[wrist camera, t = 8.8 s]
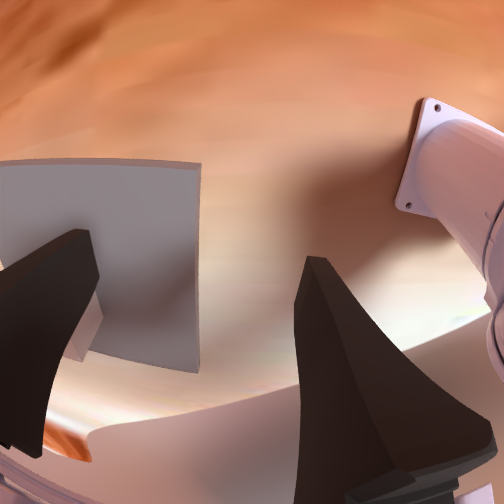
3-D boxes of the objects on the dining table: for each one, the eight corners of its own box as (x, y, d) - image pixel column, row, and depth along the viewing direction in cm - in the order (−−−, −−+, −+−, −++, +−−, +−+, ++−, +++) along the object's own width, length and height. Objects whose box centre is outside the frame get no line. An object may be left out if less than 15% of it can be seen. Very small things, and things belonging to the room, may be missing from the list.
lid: (201, 163, 13) (169, 213, 9) (199, 363, 22) (189, 418, 18) (-17, 162, 13) (-66, 196, 9) (39, 325, 22) (17, 365, 18)
